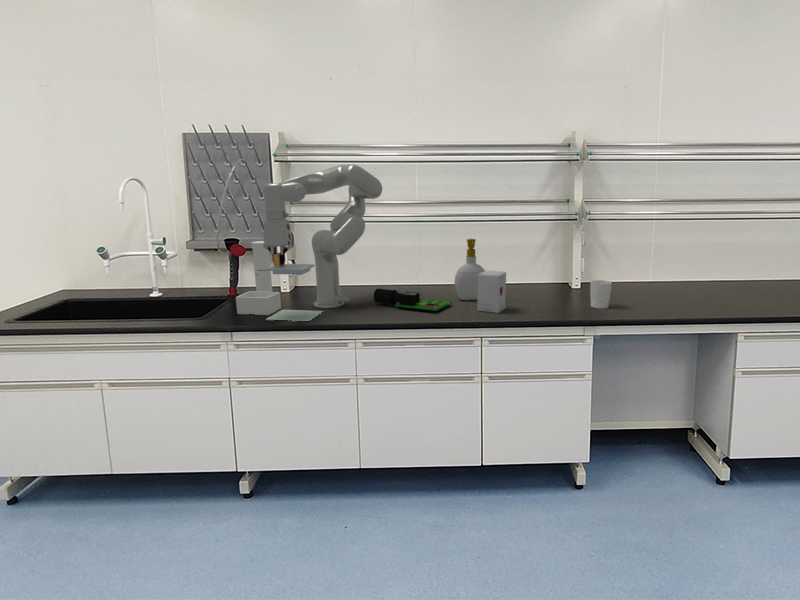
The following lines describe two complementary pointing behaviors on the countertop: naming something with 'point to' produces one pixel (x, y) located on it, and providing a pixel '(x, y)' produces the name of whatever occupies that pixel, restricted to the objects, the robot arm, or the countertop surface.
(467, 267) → the soap bottle
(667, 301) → the countertop surface
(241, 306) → the tub
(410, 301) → the electronic board model
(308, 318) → the mat
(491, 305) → the supplement box
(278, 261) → the lid
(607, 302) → the white cup
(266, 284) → the tall grey box
